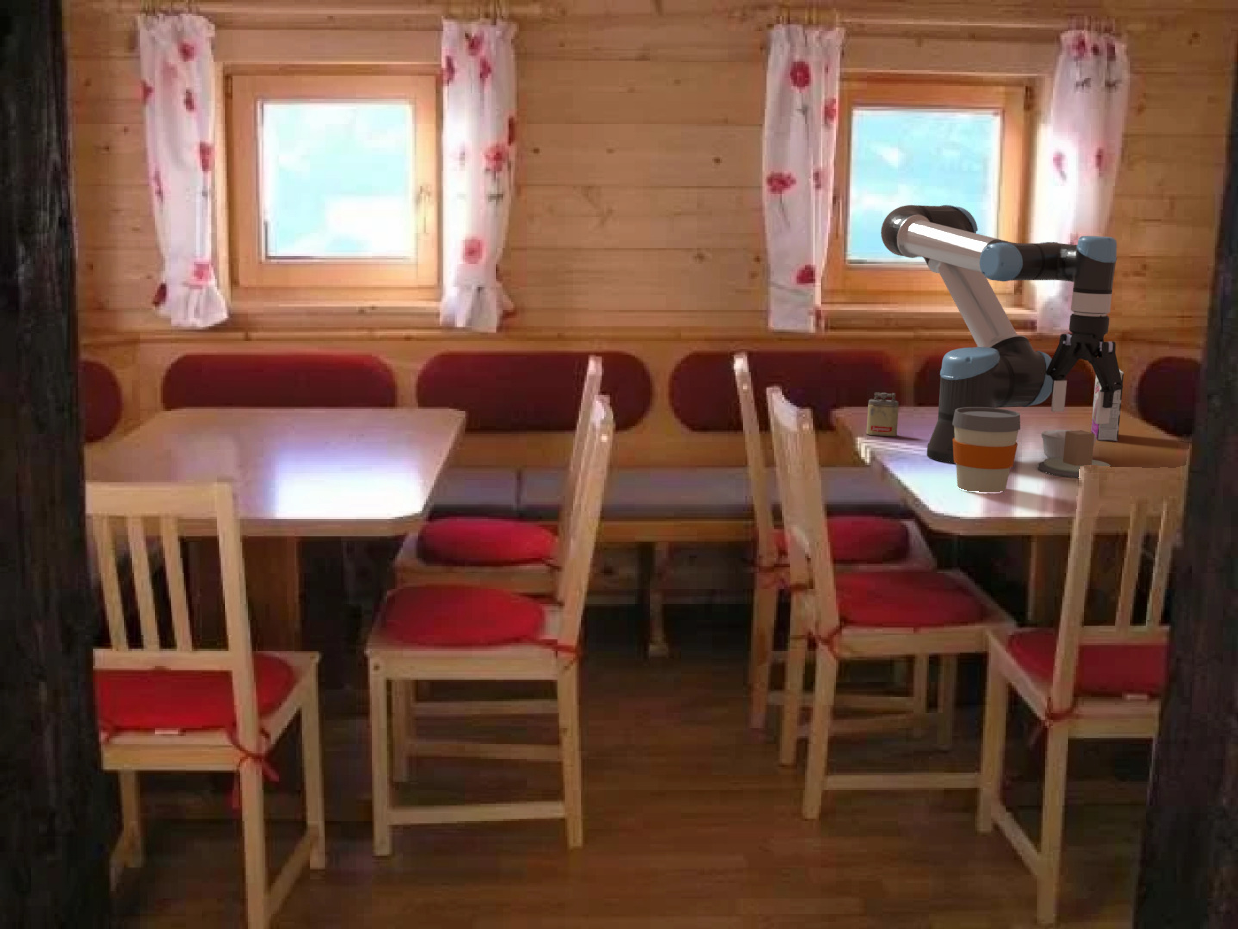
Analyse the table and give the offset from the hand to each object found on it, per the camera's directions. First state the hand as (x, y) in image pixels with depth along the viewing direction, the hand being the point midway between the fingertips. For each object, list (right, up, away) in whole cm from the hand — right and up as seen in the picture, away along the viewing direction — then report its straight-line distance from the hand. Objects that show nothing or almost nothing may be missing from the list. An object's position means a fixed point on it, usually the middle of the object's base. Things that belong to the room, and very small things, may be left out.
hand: (1079, 417), depth 276 cm
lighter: (-33, -3, +39) cm, 51 cm away
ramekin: (+3, -8, +17) cm, 19 cm away
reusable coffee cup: (-25, -15, -17) cm, 33 cm away
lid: (0, -10, +2) cm, 10 cm away
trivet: (0, -11, +2) cm, 11 cm away
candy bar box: (+20, -3, +42) cm, 47 cm away
